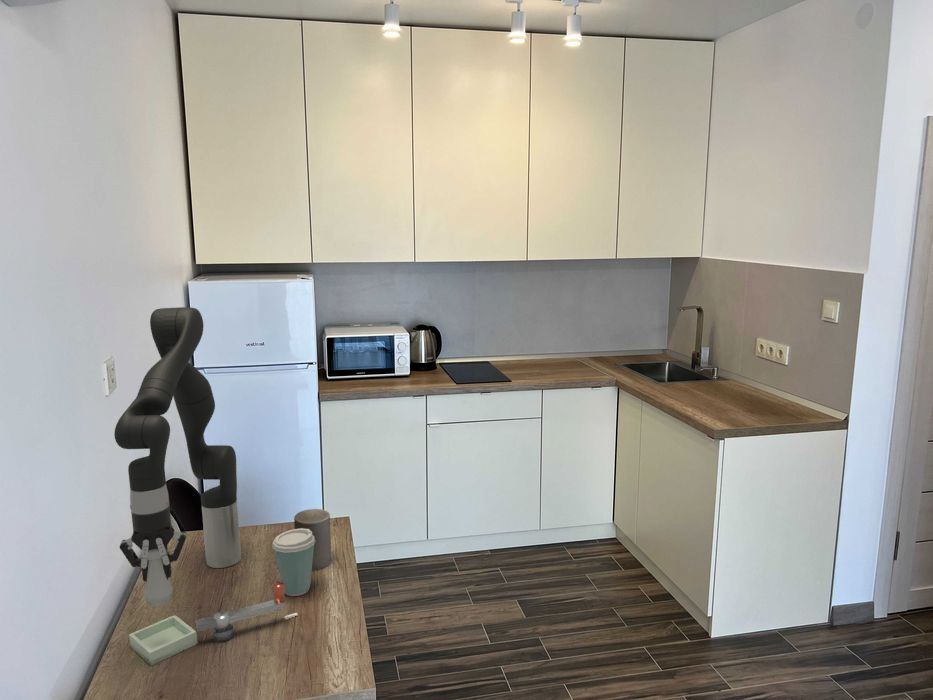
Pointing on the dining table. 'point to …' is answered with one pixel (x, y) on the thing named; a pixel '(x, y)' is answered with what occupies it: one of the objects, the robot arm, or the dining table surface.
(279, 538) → the disposable coffee cup
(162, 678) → the dining table surface
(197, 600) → the dining table surface
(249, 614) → the crank
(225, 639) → the crank base
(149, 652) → the tray
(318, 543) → the pillar candle
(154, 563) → the salt shaker
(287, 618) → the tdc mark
